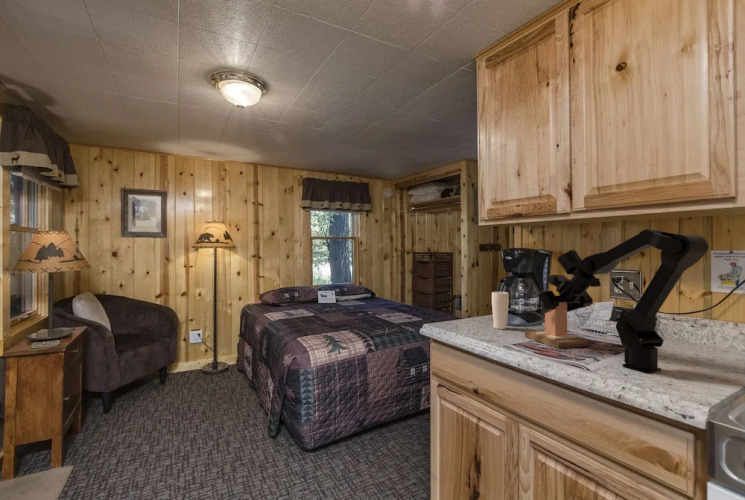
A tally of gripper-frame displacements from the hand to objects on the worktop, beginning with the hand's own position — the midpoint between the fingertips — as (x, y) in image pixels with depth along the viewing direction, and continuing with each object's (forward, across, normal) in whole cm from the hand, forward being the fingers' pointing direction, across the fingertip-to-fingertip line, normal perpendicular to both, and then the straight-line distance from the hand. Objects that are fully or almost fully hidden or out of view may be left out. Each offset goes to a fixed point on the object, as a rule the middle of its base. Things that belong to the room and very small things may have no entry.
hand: (552, 312), depth 126 cm
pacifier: (+18, -14, -3) cm, 23 cm away
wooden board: (+6, 0, +8) cm, 10 cm away
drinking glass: (+23, +6, -8) cm, 25 cm away
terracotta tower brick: (+4, 0, +6) cm, 8 cm away
